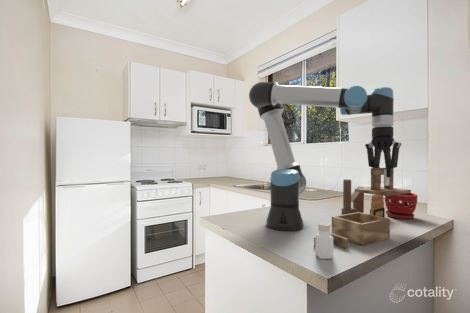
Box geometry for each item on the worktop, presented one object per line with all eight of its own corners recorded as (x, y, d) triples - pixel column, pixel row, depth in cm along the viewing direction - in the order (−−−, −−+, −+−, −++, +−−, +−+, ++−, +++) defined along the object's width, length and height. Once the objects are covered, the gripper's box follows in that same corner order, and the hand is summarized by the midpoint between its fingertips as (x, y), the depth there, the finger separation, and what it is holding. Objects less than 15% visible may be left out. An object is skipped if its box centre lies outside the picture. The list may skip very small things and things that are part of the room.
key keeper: (314, 246, 79) (314, 237, 79) (332, 242, 83) (332, 233, 83) (329, 253, 73) (329, 243, 73) (348, 248, 78) (348, 238, 78)
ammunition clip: (373, 221, 110) (374, 194, 110) (369, 220, 112) (369, 194, 112) (384, 218, 117) (385, 193, 117) (380, 217, 118) (380, 192, 118)
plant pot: (384, 218, 117) (384, 193, 117) (385, 212, 128) (385, 190, 128) (418, 222, 109) (418, 195, 109) (416, 216, 120) (416, 192, 120)
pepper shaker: (334, 259, 69) (334, 225, 69) (320, 259, 69) (320, 226, 69) (327, 253, 73) (327, 222, 73) (314, 254, 73) (314, 222, 73)
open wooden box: (331, 235, 90) (331, 216, 90) (358, 229, 98) (358, 212, 98) (362, 246, 80) (362, 224, 80) (389, 238, 87) (389, 218, 87)
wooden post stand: (354, 191, 100) (354, 167, 100) (378, 189, 108) (378, 167, 108) (386, 196, 89) (386, 169, 89) (410, 192, 97) (410, 168, 97)
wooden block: (364, 215, 121) (364, 179, 121) (346, 217, 118) (347, 180, 118) (358, 214, 125) (358, 178, 125) (341, 215, 121) (341, 179, 121)
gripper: (358, 128, 104) (358, 183, 104) (398, 124, 90) (398, 187, 90) (369, 129, 107) (369, 182, 107) (408, 125, 94) (408, 186, 94)
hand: (382, 184), depth 99 cm, fingers closed on wooden post stand, 3 cm apart
